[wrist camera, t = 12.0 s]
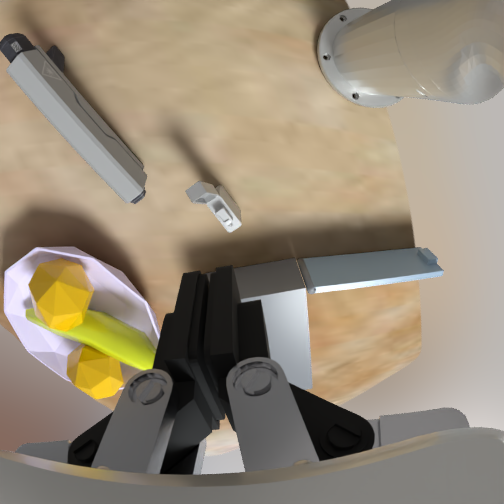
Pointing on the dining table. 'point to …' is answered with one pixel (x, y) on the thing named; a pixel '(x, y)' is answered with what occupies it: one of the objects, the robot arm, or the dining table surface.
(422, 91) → the robot arm
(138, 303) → the fruit bowl
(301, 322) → the grey block
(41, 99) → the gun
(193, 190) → the pale grey angled bracket
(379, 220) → the dining table surface
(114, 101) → the dining table surface
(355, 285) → the side door
